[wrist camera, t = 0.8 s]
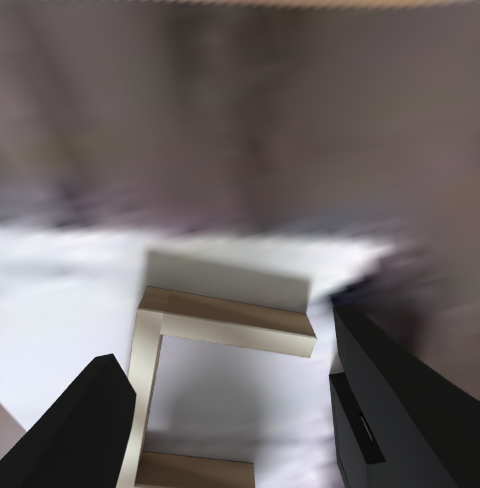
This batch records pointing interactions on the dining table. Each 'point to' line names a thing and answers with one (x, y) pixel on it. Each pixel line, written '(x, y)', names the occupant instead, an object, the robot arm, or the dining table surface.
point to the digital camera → (356, 441)
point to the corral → (209, 330)
